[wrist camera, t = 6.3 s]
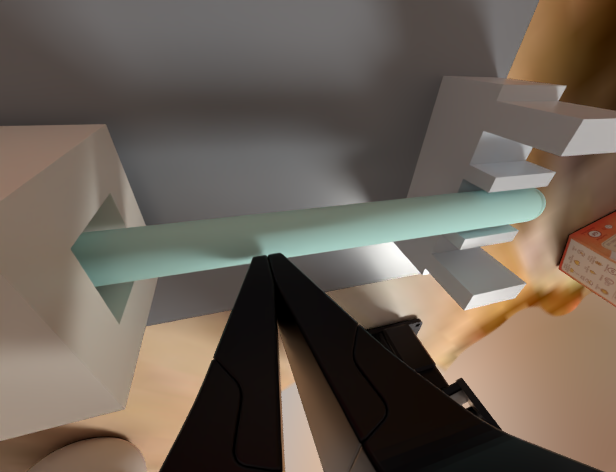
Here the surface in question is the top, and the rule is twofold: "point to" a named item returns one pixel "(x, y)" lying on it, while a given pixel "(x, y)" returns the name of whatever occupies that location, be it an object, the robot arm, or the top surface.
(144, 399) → the top surface
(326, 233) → the pale teal rod
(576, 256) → the cracker box
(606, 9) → the top surface
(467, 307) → the board
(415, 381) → the robot arm
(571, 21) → the top surface
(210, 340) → the top surface
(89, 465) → the pump dispenser
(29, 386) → the sleeve
